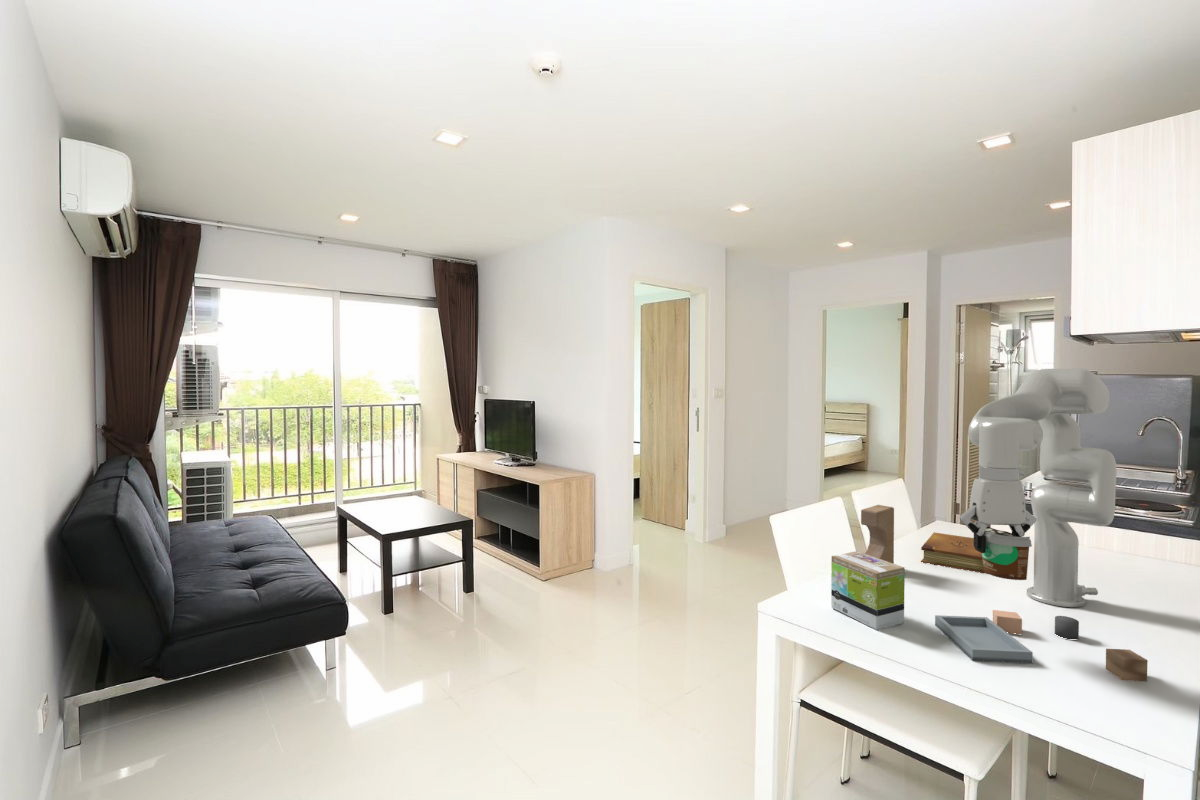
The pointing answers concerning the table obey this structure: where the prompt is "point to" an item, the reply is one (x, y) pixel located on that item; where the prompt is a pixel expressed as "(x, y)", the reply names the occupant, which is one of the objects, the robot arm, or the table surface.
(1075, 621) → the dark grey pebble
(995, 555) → the food container
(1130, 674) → the walnut cube
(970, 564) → the diary
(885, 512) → the decorative block
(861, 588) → the tea box
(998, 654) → the tray
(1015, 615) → the terracotta block
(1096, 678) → the table surface
